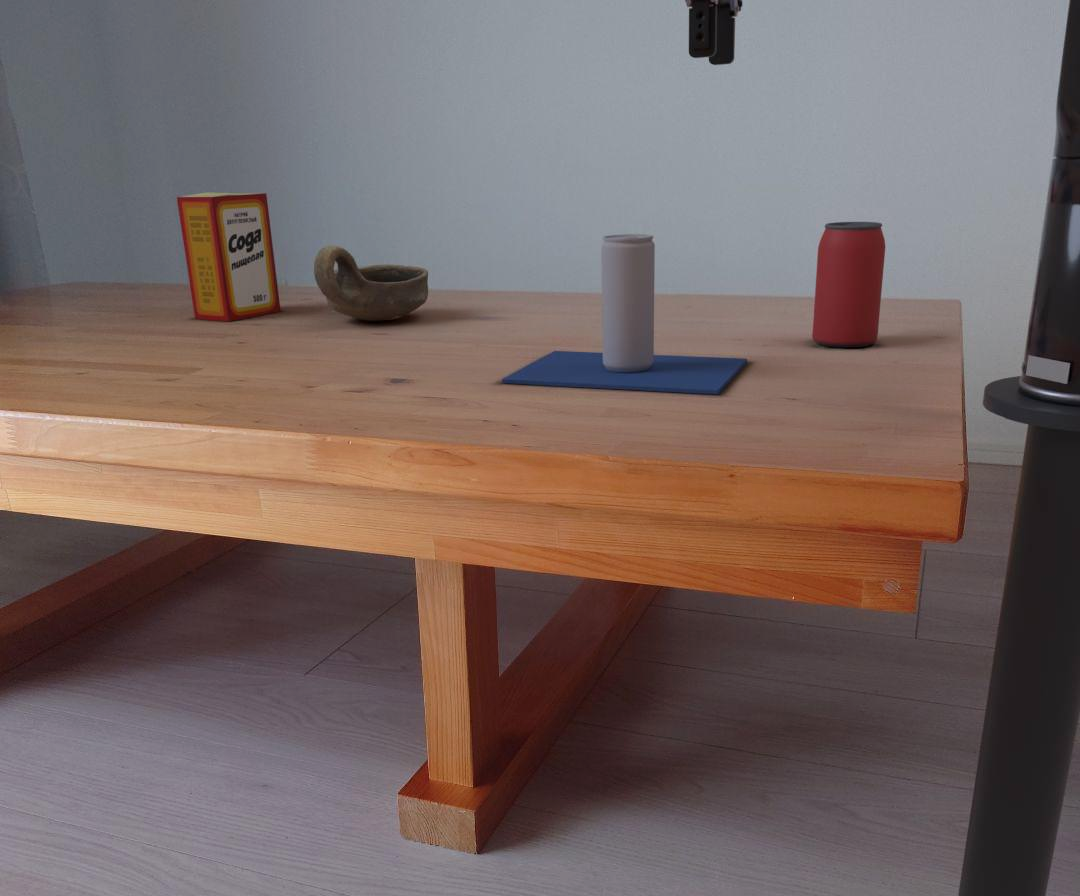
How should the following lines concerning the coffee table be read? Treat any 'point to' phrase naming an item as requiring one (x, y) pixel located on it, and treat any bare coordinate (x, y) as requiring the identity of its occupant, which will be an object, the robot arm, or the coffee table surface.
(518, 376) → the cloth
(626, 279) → the beverage can
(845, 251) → the beer can
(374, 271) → the bowl
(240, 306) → the baking soda box
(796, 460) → the coffee table surface
